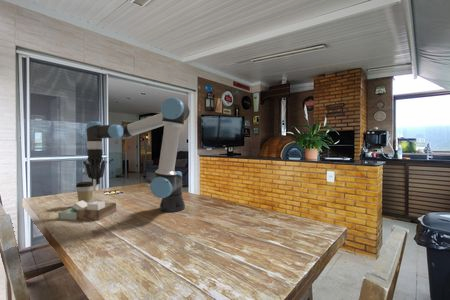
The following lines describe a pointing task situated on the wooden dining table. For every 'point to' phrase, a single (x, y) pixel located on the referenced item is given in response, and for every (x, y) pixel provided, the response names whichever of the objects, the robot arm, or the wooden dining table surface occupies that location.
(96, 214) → the board
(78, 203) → the tile
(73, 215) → the tray
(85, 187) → the coffee cup
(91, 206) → the tile
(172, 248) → the wooden dining table surface
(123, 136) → the robot arm
